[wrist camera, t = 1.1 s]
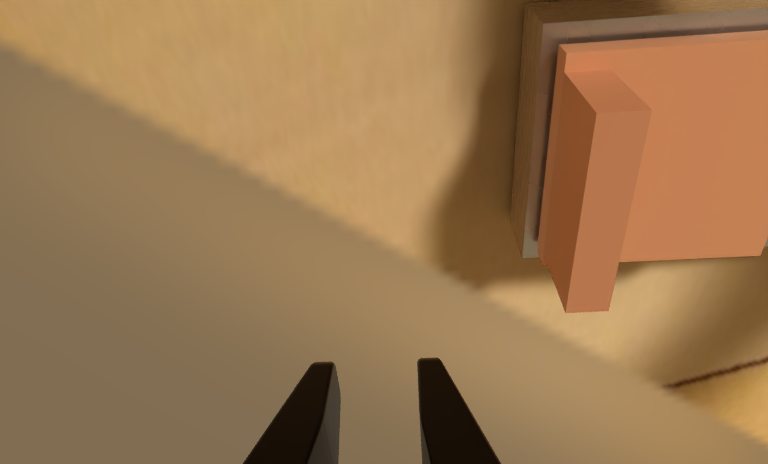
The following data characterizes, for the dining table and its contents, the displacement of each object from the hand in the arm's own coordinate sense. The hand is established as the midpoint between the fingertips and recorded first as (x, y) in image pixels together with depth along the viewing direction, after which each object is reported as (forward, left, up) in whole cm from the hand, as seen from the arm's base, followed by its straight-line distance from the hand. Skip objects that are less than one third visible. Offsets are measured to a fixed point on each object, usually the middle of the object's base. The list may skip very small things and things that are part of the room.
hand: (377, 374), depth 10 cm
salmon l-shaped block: (-9, 0, -8) cm, 12 cm away
